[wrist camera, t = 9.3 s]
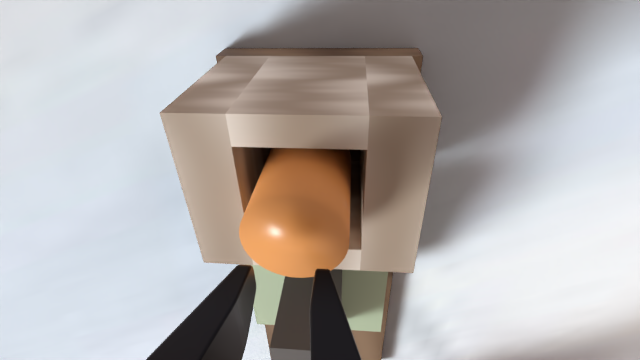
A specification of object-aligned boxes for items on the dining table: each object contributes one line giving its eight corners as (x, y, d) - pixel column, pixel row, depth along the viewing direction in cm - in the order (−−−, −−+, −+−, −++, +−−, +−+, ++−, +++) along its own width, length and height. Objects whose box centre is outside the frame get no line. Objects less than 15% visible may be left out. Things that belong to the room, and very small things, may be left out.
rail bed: (418, 48, 18) (459, 117, 11) (377, 360, 34) (383, 469, 27) (225, 48, 19) (144, 112, 11) (275, 352, 35) (255, 456, 28)
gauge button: (352, 124, 14) (350, 197, 10) (350, 195, 16) (348, 280, 12) (266, 123, 15) (230, 193, 11) (274, 192, 17) (247, 275, 13)
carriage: (387, 223, 20) (400, 343, 14) (378, 300, 24) (386, 420, 18) (252, 217, 21) (209, 330, 15) (265, 293, 25) (235, 407, 19)
